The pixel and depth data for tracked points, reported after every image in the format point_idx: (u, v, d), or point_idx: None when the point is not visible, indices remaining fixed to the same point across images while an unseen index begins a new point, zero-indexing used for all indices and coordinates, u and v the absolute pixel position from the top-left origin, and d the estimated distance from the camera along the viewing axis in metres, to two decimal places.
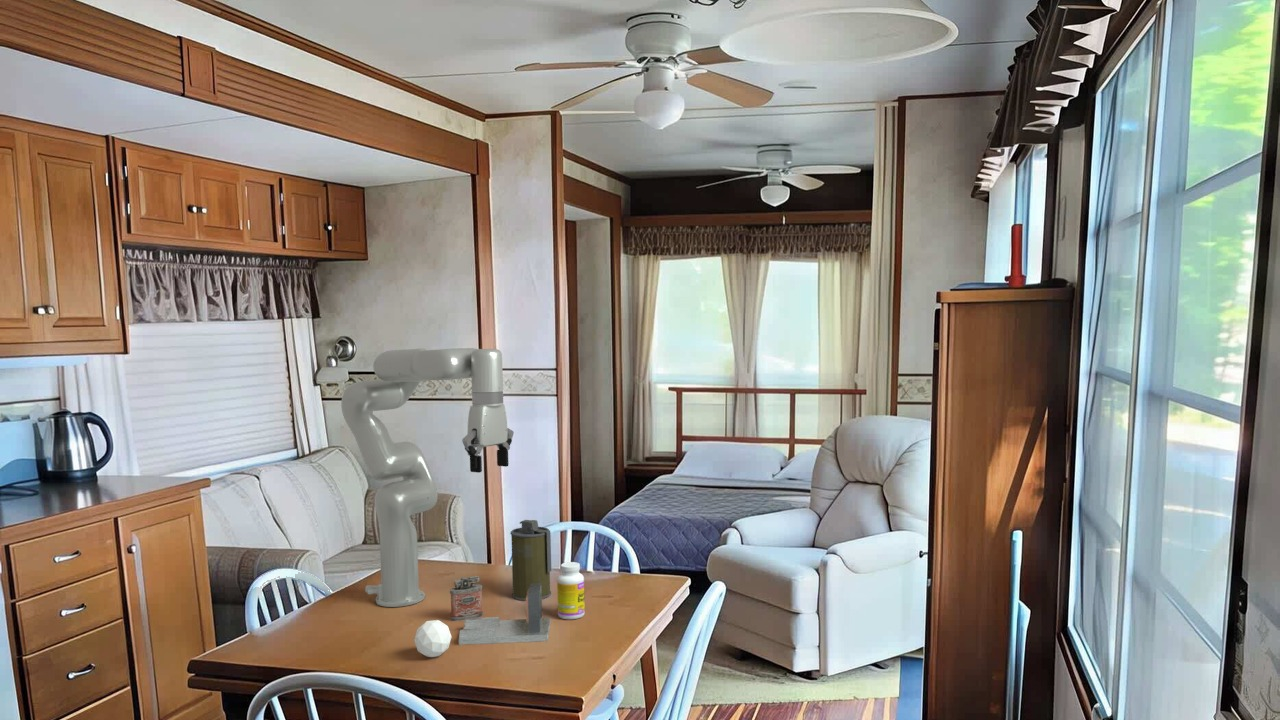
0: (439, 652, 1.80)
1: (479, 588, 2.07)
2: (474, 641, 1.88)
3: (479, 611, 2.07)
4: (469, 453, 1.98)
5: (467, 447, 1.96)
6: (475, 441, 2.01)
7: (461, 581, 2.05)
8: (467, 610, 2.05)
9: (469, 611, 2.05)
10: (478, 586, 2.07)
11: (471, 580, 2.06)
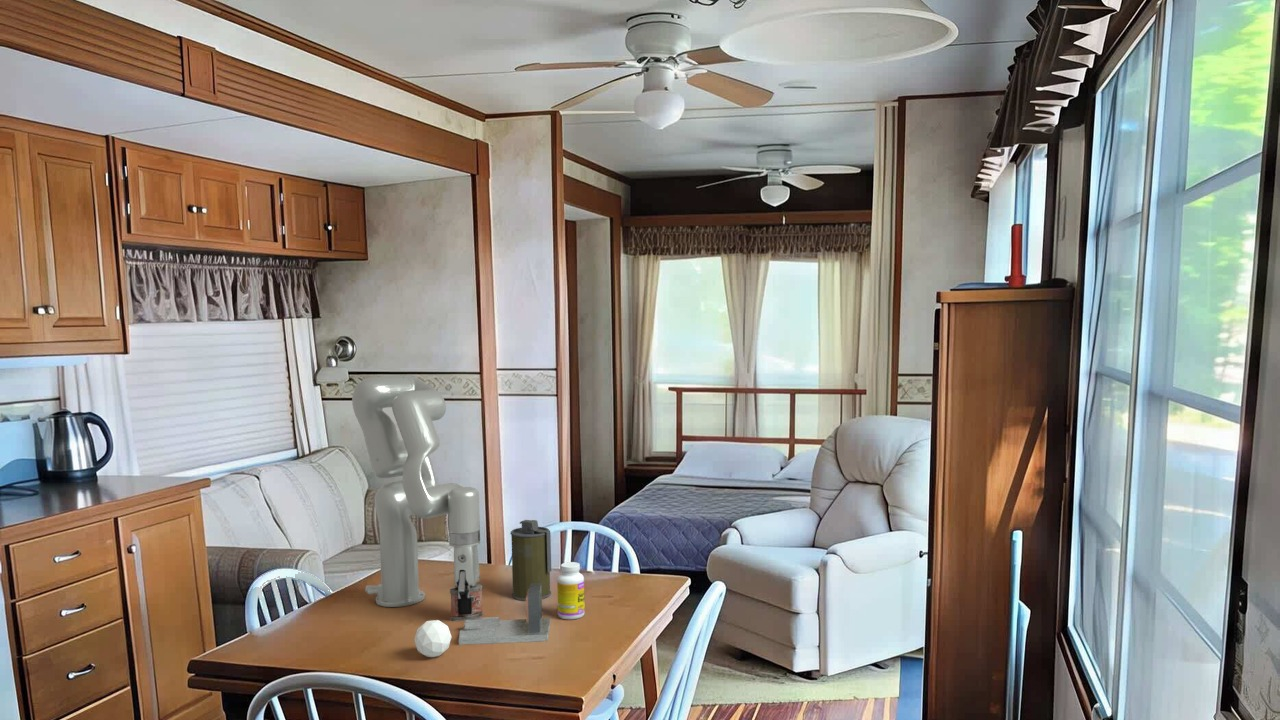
0: (439, 652, 1.80)
1: (479, 588, 2.07)
2: (474, 641, 1.88)
3: (479, 611, 2.07)
4: None
5: None
6: None
7: None
8: None
9: None
10: (478, 586, 2.07)
11: None
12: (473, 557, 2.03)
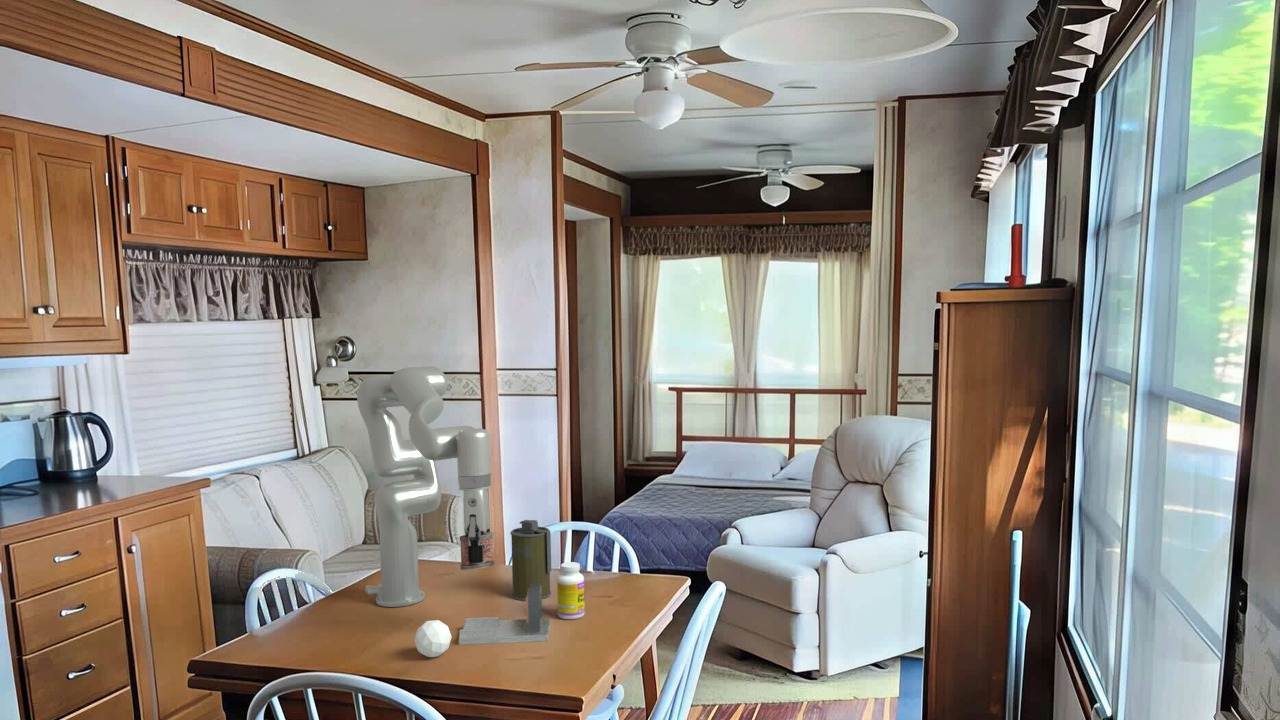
0: (439, 652, 1.80)
1: (490, 535, 1.94)
2: (474, 641, 1.88)
3: (491, 560, 1.95)
4: None
5: None
6: None
7: None
8: None
9: None
10: (489, 533, 1.95)
11: None
12: (484, 501, 1.91)
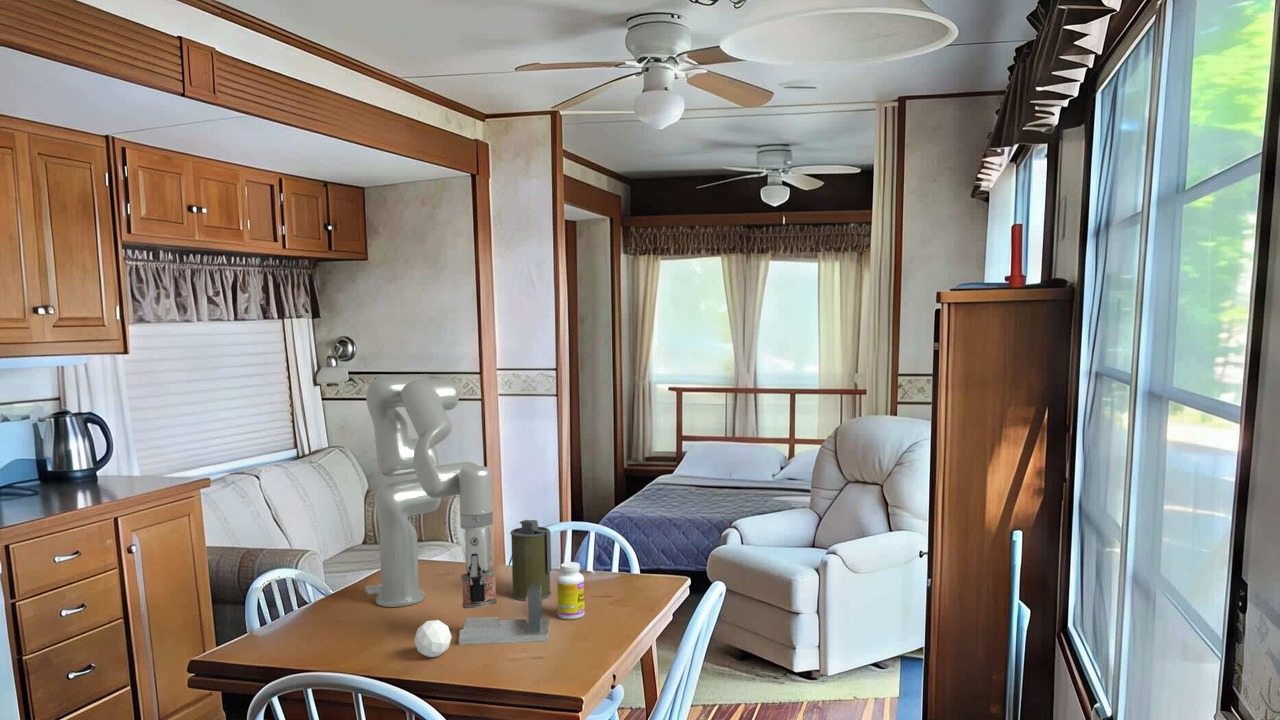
0: (439, 652, 1.80)
1: (492, 573, 1.94)
2: (474, 641, 1.88)
3: (493, 598, 1.94)
4: None
5: None
6: None
7: None
8: None
9: None
10: (491, 571, 1.94)
11: None
12: (486, 540, 1.90)
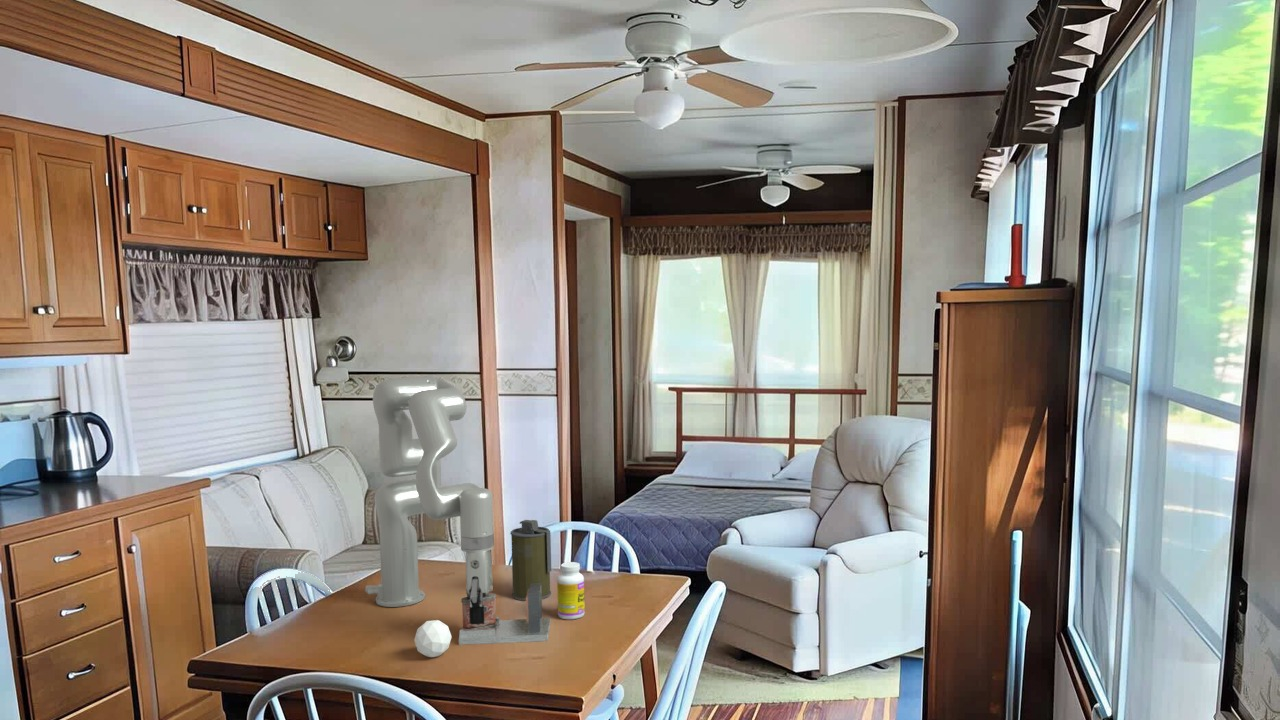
0: (439, 652, 1.80)
1: (492, 597, 1.94)
2: (474, 641, 1.88)
3: (492, 622, 1.94)
4: None
5: None
6: None
7: None
8: None
9: None
10: (491, 595, 1.95)
11: None
12: (486, 563, 1.90)
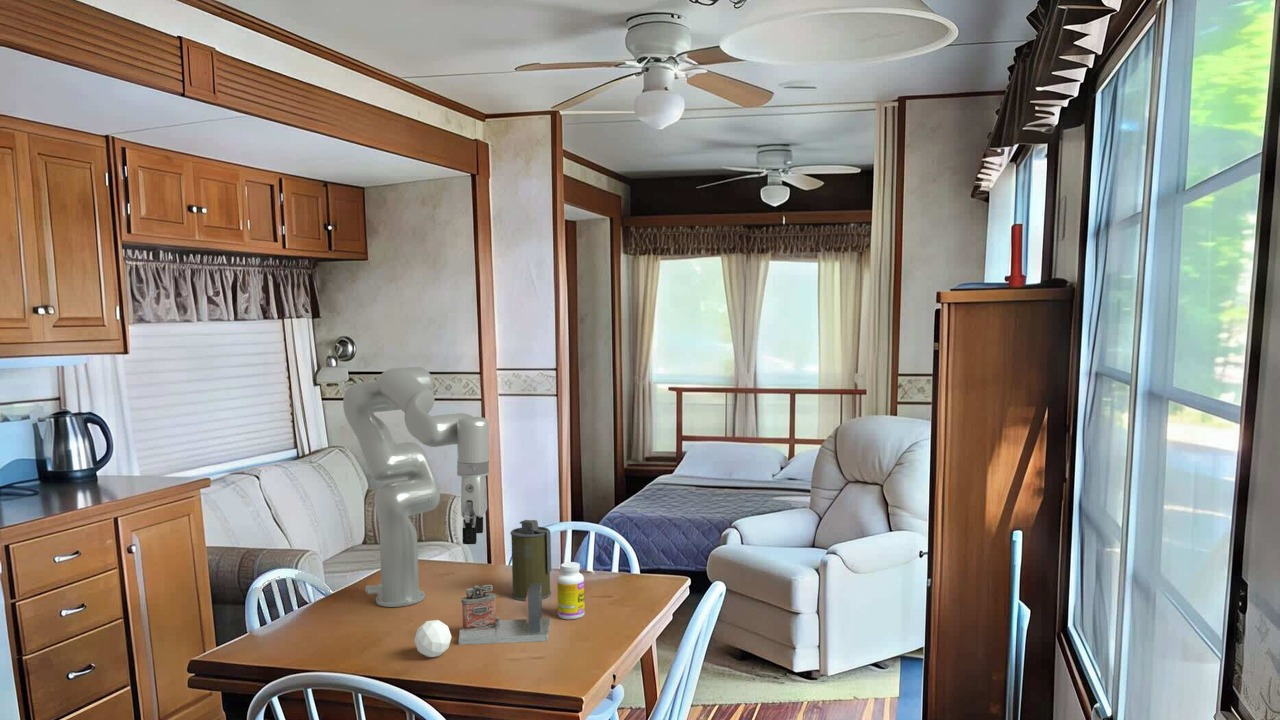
0: (439, 652, 1.80)
1: (492, 597, 1.94)
2: (474, 641, 1.88)
3: (492, 622, 1.94)
4: None
5: None
6: None
7: (473, 590, 1.93)
8: (479, 621, 1.93)
9: (482, 622, 1.93)
10: (491, 595, 1.95)
11: (484, 588, 1.94)
12: (481, 488, 1.97)
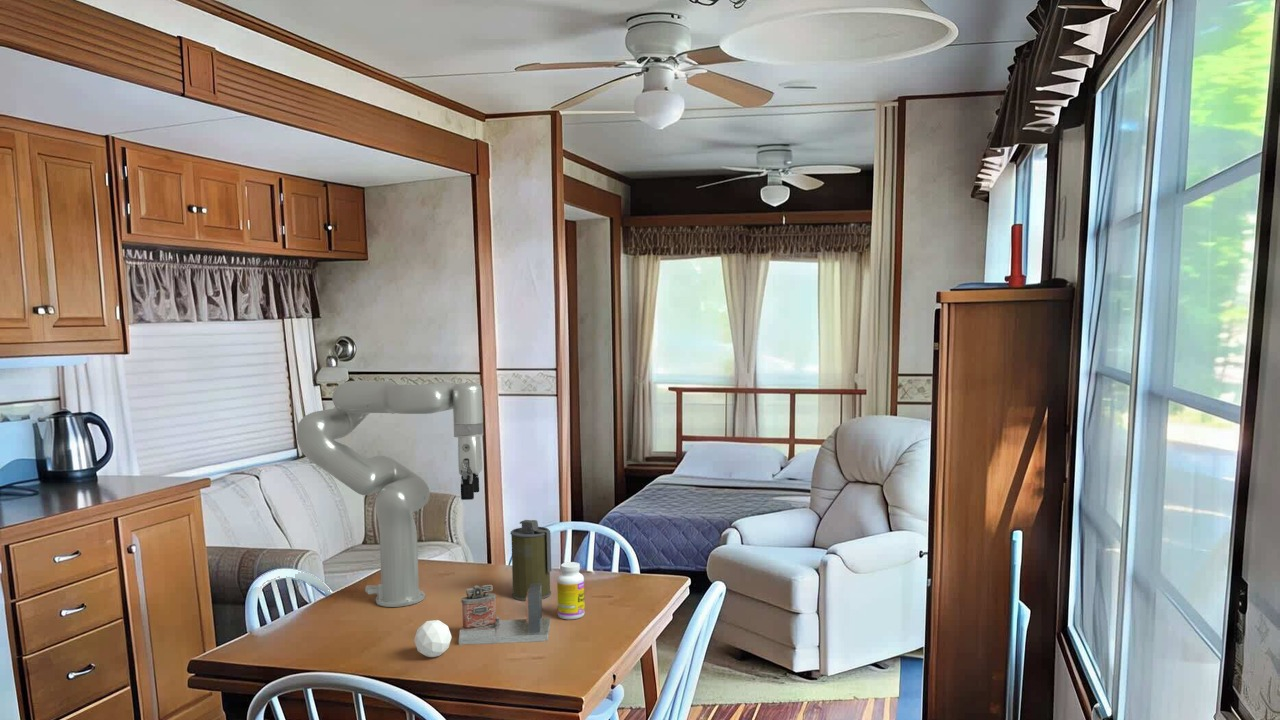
0: (439, 652, 1.80)
1: (492, 597, 1.94)
2: (474, 641, 1.88)
3: (492, 622, 1.94)
4: None
5: None
6: None
7: (473, 590, 1.93)
8: (479, 621, 1.93)
9: (482, 622, 1.93)
10: (491, 595, 1.95)
11: (484, 588, 1.94)
12: (476, 447, 2.13)
